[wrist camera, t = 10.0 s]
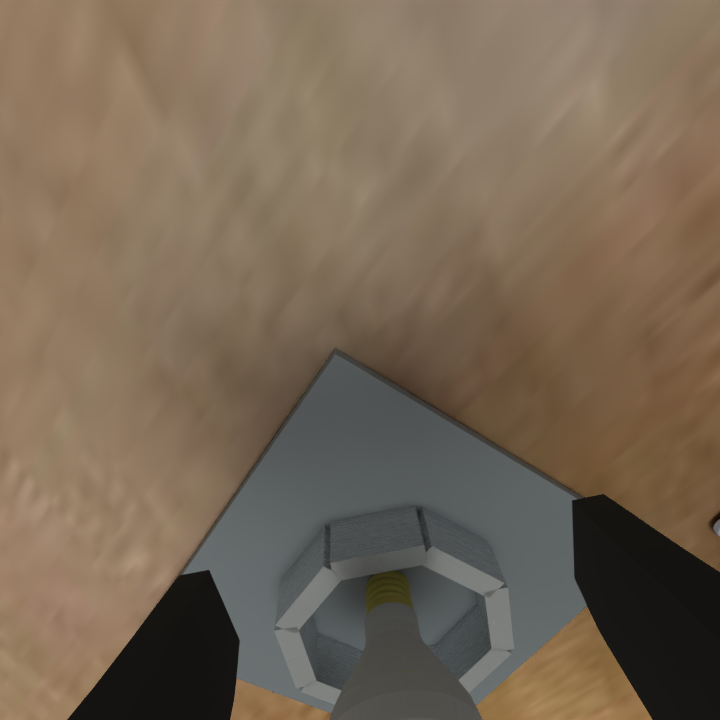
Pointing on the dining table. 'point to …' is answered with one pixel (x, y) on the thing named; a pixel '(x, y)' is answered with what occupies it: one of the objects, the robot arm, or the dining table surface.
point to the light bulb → (399, 665)
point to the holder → (388, 541)
